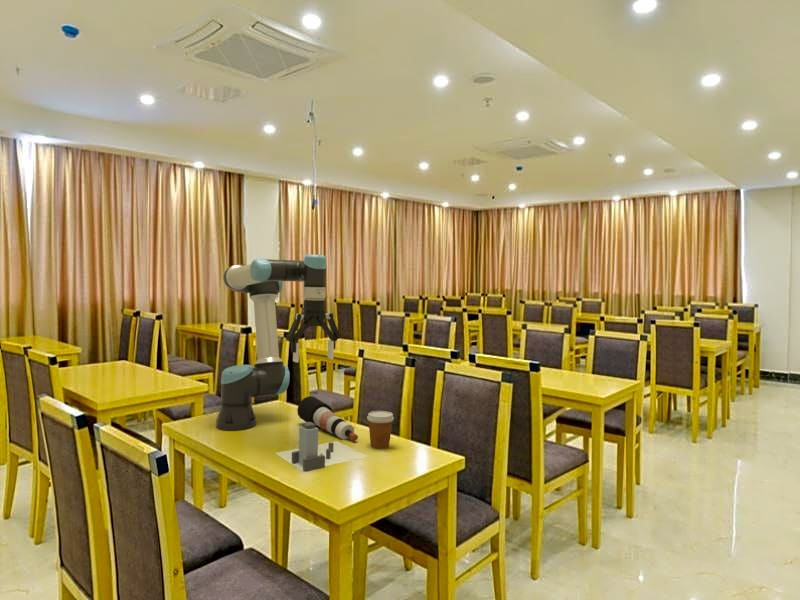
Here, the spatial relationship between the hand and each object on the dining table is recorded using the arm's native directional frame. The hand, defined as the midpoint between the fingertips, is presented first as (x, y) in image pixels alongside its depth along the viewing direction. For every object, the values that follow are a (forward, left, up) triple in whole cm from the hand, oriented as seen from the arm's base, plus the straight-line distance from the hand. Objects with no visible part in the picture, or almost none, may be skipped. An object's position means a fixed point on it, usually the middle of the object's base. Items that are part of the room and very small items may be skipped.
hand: (313, 360), depth 189 cm
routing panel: (+10, -2, -31) cm, 32 cm away
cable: (-12, +14, -31) cm, 36 cm away
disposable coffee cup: (+13, +20, -31) cm, 39 cm away
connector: (+16, -10, -30) cm, 36 cm away
